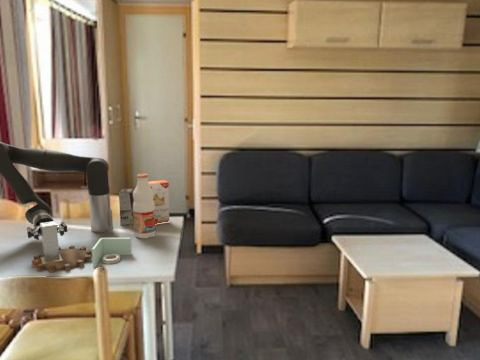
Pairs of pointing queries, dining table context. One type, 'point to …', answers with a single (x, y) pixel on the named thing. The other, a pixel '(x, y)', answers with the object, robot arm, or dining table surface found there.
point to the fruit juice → (143, 208)
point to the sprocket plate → (64, 259)
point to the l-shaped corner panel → (111, 249)
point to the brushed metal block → (50, 241)
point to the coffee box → (126, 206)
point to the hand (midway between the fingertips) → (49, 235)
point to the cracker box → (161, 200)
